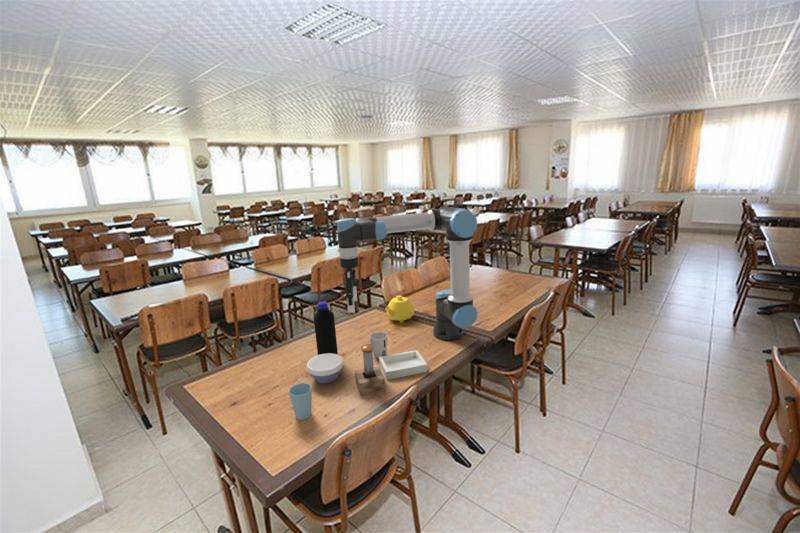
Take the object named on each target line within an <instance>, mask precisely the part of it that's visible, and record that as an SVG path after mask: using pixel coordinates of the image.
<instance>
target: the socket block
mask: <svg viewBox="0 0 800 533" xmlns="http://www.w3.org/2000/svg"><path fill="white" fill-rule="evenodd" d="M373 367H374V377H372V378H366V379H365V371H364V368H361V369H357V370H354V375H355V376H354V378H355V379H354V380H355V384H356V387H357V390H358V393H359V396H364V395H368V394H373V393H378V392H384V391H386V380H385V379H386V377H385V375H384V373H383V371H382V368H381V366H380V365H378V366H373Z"/></svg>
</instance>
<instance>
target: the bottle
mask: <svg viewBox="0 0 800 533" xmlns="http://www.w3.org/2000/svg"><path fill="white" fill-rule="evenodd" d="M328 305H329V304H328V302H327V301H324V300H323V301H318V302H317V311H316V312H315V313H314V314H313V325H314V333H315V342H316V352H317V355H321V354H327V353H332V354H337V355H339V352H338V341H337V333H336V332H337V331H336V321H335V313H334V312H332V311H331V310H330V309H329V306H328Z"/></svg>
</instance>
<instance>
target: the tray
mask: <svg viewBox="0 0 800 533" xmlns="http://www.w3.org/2000/svg"><path fill="white" fill-rule="evenodd" d="M378 363H379V367H380V369H381V372H382V374H383V376H384V378H385V379H386V380H392V379H397V378H398V379H399V378H402V377H407V376H411V375H412V376H413V375H417V374H423V372H424V373H428V363H427V362H426V360H425V359H424V357H423V356H422V355H421V354H420V352H419V351H418V350H417V349H416V350H411V351H404V352H397V353H393V354H387V355H385V356H380V357H379V358H378Z"/></svg>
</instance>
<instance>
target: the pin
mask: <svg viewBox="0 0 800 533" xmlns="http://www.w3.org/2000/svg"><path fill="white" fill-rule="evenodd" d="M373 349H374V346H373V345H372V344H370V343H364V344H362V345H361V347H360V350H361V351H362V354H363V355H362V356H363V369H364V371H365V379H366V378H372V377H374V367H375V366H374V354H373V352H372V350H373Z"/></svg>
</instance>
